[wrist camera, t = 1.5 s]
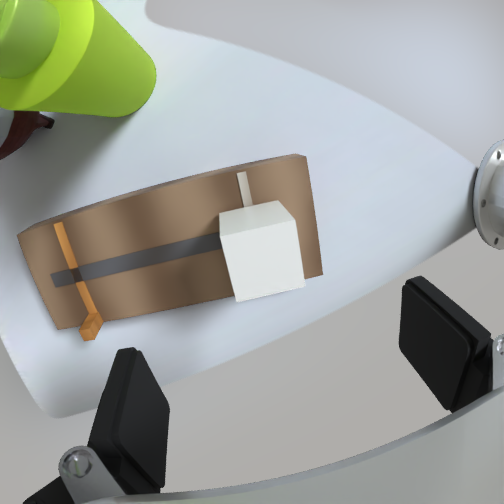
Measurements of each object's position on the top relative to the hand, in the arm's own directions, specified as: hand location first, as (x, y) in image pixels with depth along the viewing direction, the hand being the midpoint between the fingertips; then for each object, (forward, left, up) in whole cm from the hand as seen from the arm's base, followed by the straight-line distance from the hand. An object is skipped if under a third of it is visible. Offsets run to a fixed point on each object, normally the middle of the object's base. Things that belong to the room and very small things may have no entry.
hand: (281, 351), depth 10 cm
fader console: (+7, 0, -16) cm, 17 cm away
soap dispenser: (+7, -13, -16) cm, 22 cm away
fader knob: (0, 0, -12) cm, 12 cm away
